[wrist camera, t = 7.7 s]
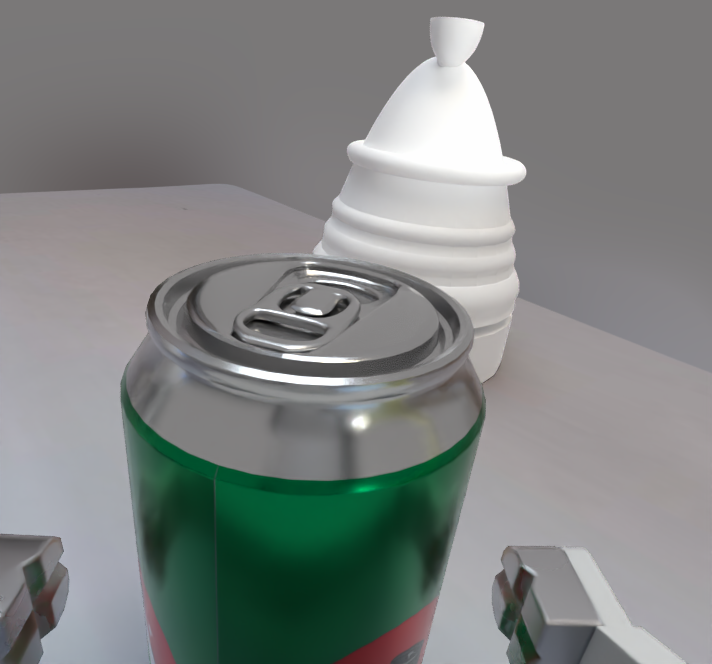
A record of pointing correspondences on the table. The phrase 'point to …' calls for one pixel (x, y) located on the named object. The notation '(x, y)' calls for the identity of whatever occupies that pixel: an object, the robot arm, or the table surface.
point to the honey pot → (437, 191)
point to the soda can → (297, 459)
